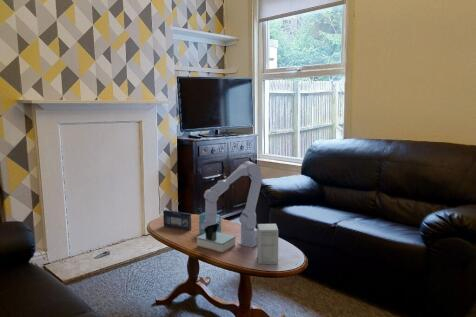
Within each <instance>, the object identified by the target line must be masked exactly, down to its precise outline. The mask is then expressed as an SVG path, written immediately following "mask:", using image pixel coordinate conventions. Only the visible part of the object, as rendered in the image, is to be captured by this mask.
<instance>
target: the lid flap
mask: <svg viewBox="0 0 476 317" xmlns="http://www.w3.org/2000/svg"><path fill="white" fill-rule="evenodd" d="M236 238H237V237H236V235H231V234H228V233H223V232H221V233H219V232H214V231H212V238H211V240H208V239H207V236H206V233H204V234H200V235H197V236H196V240H197V239H200V240H204V241H208V242H212V243H215V244H219V245H224V244H225V243H227V242H229V241H231V240H233V239H235V240H236Z"/></svg>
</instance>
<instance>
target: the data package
mask: <svg viewBox="0 0 476 317" xmlns="http://www.w3.org/2000/svg"><path fill="white" fill-rule="evenodd" d="M198 215H199V216H198V224H199V226H198V230H199V234H200V235H202V234H204V233H205V231H204V229H201V225H202V224H203V223H204V220H205V212H202V213H201V214H198ZM217 218H221V219H222V217H221V214H217ZM217 224H219V227H218V229H217V231H216V232H219V233H222V221H221V222H217Z"/></svg>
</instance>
